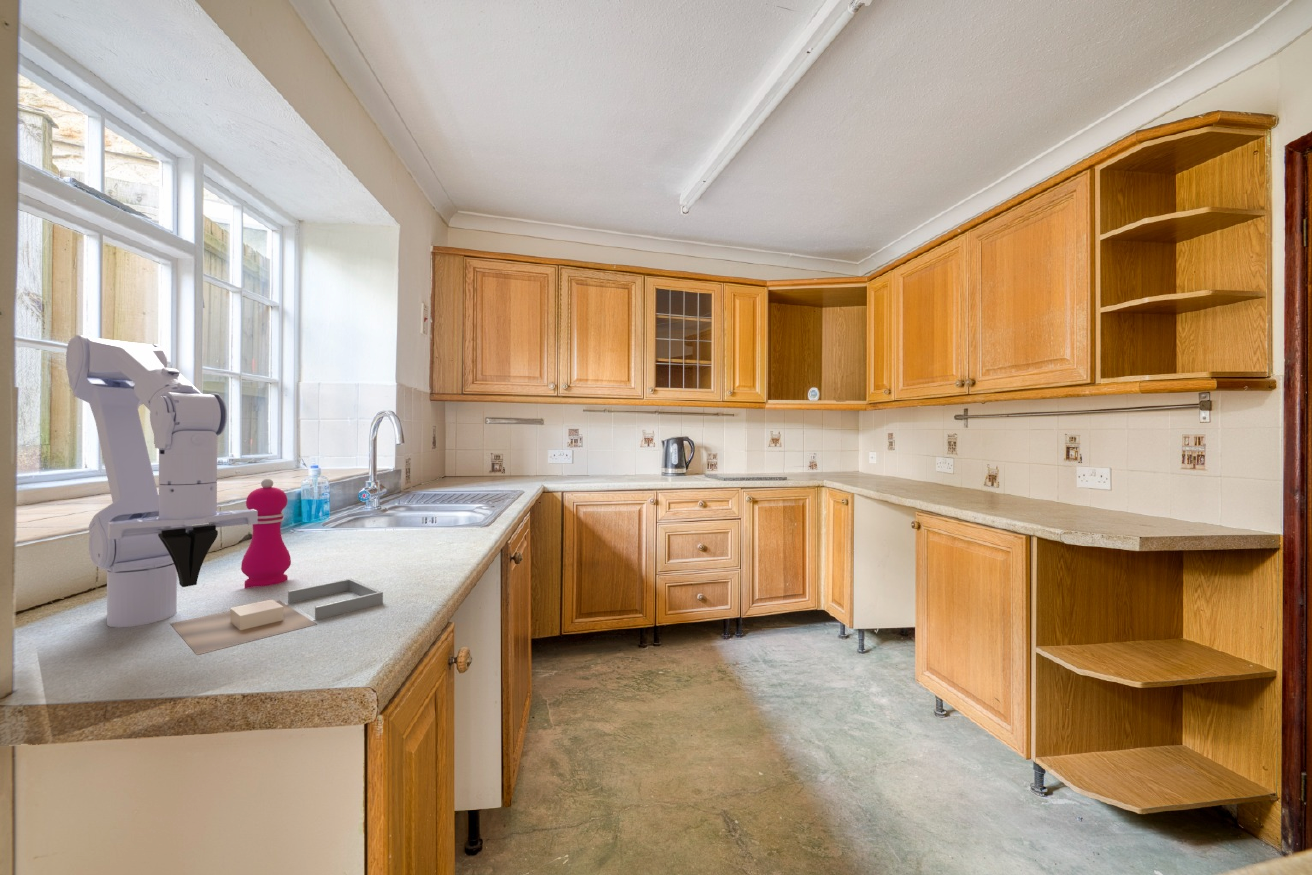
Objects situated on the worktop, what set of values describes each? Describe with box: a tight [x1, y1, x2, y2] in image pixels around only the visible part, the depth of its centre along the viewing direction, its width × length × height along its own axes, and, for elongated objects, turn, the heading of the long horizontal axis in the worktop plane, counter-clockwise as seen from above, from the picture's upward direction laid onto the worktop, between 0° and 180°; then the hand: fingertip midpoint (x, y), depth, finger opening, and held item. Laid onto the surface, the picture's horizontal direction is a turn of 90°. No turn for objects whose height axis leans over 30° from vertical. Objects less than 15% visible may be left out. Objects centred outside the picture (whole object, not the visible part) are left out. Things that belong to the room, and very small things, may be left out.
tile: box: [229, 598, 283, 630], centre depth 74 cm, size 5×5×2 cm
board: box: [170, 600, 318, 656], centre depth 73 cm, size 16×13×1 cm
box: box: [283, 577, 384, 622], centre depth 82 cm, size 12×10×3 cm
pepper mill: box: [240, 478, 292, 589], centre depth 93 cm, size 7×7×20 cm
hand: (188, 584), depth 68 cm, fingers closed
